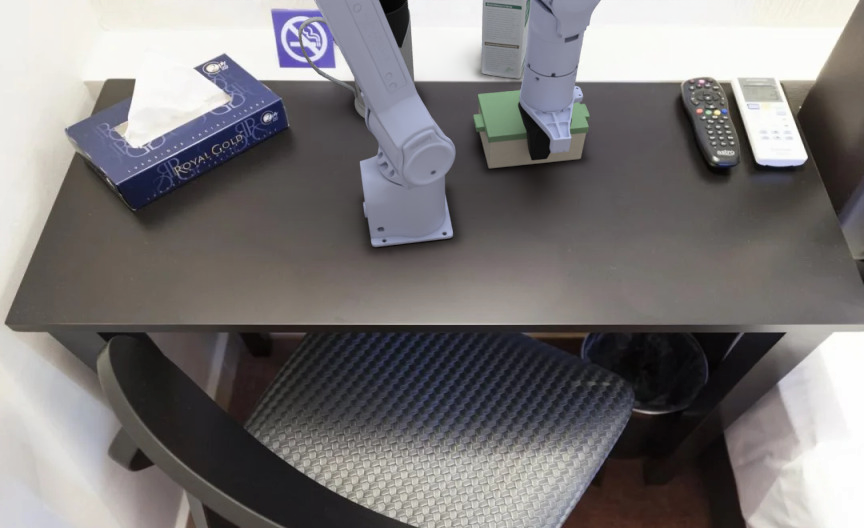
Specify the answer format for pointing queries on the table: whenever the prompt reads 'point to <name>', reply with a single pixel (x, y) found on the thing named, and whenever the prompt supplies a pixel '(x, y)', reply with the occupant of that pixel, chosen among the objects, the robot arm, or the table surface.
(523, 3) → the syrup box
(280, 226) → the table surface
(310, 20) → the glass holder
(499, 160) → the lunchbox
